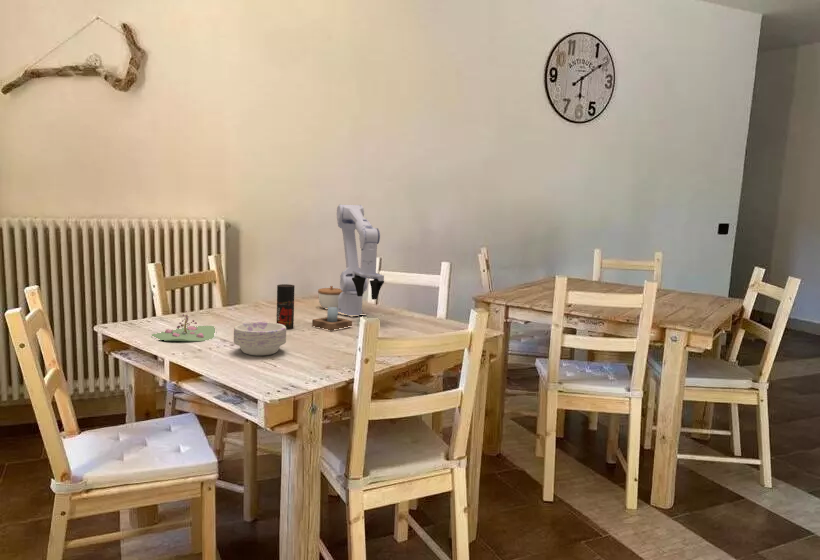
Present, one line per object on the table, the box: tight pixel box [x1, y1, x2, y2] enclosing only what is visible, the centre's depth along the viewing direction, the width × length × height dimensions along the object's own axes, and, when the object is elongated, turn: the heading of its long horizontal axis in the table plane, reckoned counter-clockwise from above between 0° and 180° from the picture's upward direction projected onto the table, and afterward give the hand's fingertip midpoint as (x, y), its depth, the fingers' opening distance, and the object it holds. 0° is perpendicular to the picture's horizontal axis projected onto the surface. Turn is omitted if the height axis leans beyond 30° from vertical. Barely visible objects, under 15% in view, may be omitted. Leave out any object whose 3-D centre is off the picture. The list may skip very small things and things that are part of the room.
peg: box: [326, 307, 339, 322], centre depth 226 cm, size 4×4×7 cm
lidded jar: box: [317, 285, 343, 308], centre depth 260 cm, size 11×11×9 cm
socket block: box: [311, 316, 353, 330], centre depth 227 cm, size 10×10×2 cm
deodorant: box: [276, 283, 295, 331], centre depth 221 cm, size 6×6×15 cm
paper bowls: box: [233, 321, 287, 357], centre depth 188 cm, size 15×15×8 cm
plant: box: [151, 310, 216, 342], centre depth 206 cm, size 25×21×9 cm
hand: (367, 297), depth 234 cm, fingers open, 7 cm apart
